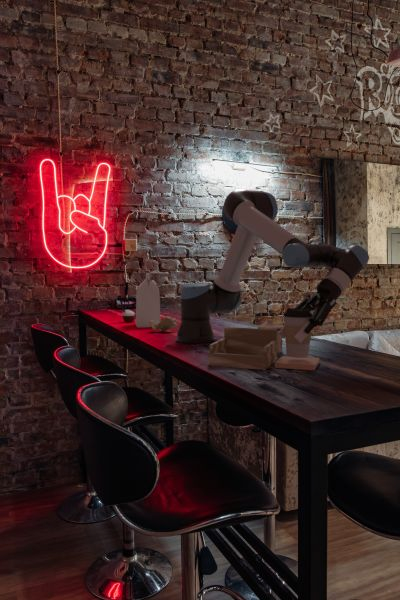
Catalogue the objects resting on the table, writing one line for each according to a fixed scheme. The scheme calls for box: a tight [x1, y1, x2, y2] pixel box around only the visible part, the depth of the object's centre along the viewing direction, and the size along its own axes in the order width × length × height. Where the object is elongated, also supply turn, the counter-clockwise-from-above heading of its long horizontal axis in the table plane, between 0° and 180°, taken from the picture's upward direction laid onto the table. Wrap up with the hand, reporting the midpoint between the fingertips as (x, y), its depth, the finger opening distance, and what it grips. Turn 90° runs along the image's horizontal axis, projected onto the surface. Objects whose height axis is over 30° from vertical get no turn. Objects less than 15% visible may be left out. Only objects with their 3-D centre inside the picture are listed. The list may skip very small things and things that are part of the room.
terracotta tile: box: [274, 355, 320, 371], centre depth 168 cm, size 12×12×2 cm
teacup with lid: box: [257, 318, 283, 354], centre depth 194 cm, size 12×9×12 cm
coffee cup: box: [283, 307, 313, 358], centre depth 167 cm, size 9×9×15 cm
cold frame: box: [208, 326, 278, 371], centre depth 172 cm, size 18×18×10 cm
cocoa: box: [119, 299, 136, 323], centre depth 282 cm, size 10×6×12 cm, turn 103°
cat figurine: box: [150, 316, 179, 334], centre depth 245 cm, size 8×7×12 cm
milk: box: [135, 272, 162, 328], centre depth 266 cm, size 12×12×26 cm
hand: (288, 337), depth 166 cm, fingers closed on coffee cup, 9 cm apart
